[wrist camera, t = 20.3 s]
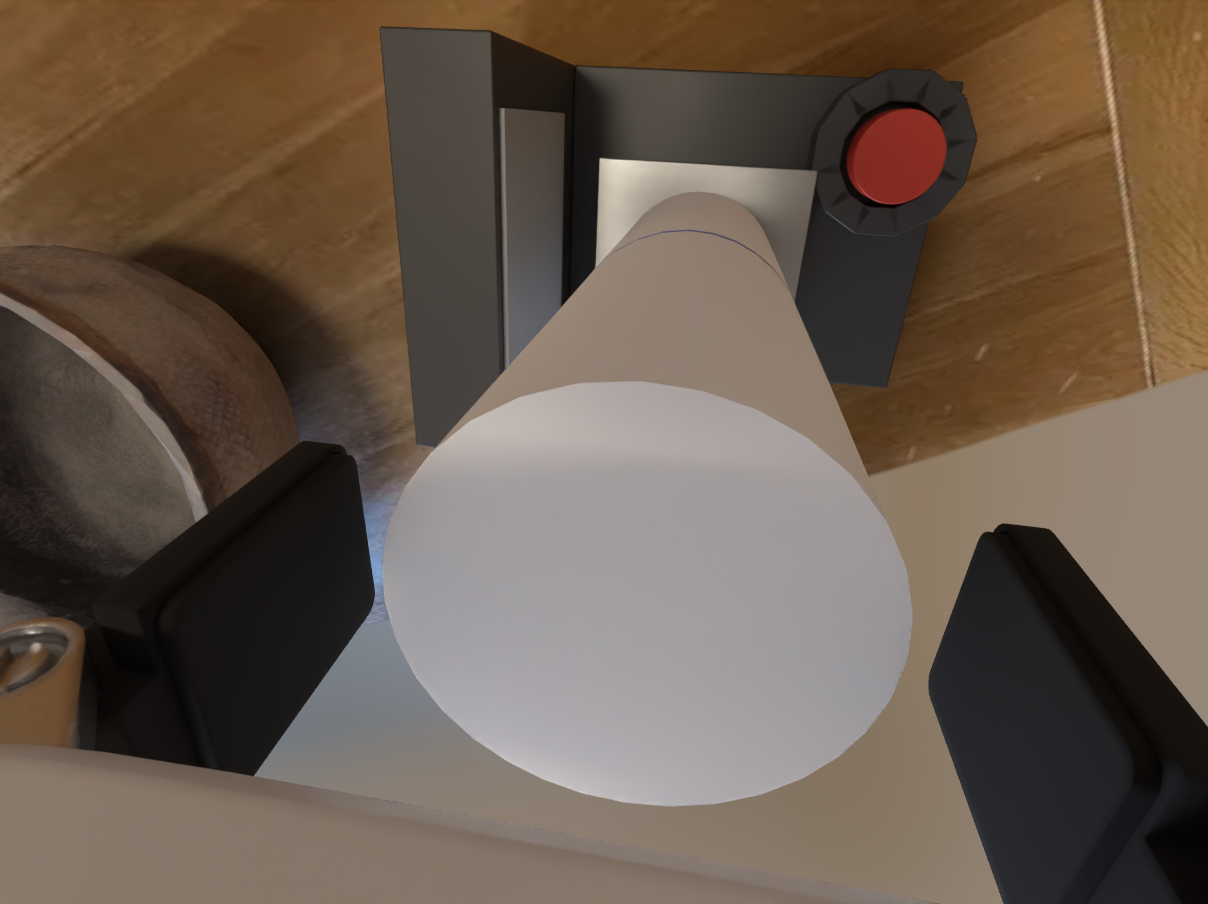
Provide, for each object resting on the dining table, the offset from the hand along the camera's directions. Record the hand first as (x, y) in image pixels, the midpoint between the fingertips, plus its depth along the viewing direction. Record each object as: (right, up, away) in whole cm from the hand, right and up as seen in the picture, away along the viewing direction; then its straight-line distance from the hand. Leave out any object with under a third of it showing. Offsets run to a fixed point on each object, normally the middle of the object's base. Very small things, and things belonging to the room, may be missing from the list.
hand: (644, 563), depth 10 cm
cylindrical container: (+4, +10, +21) cm, 24 cm away
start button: (+12, +15, +19) cm, 26 cm away
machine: (+7, +13, +25) cm, 29 cm away
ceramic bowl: (-27, +6, +35) cm, 44 cm away
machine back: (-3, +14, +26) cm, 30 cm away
